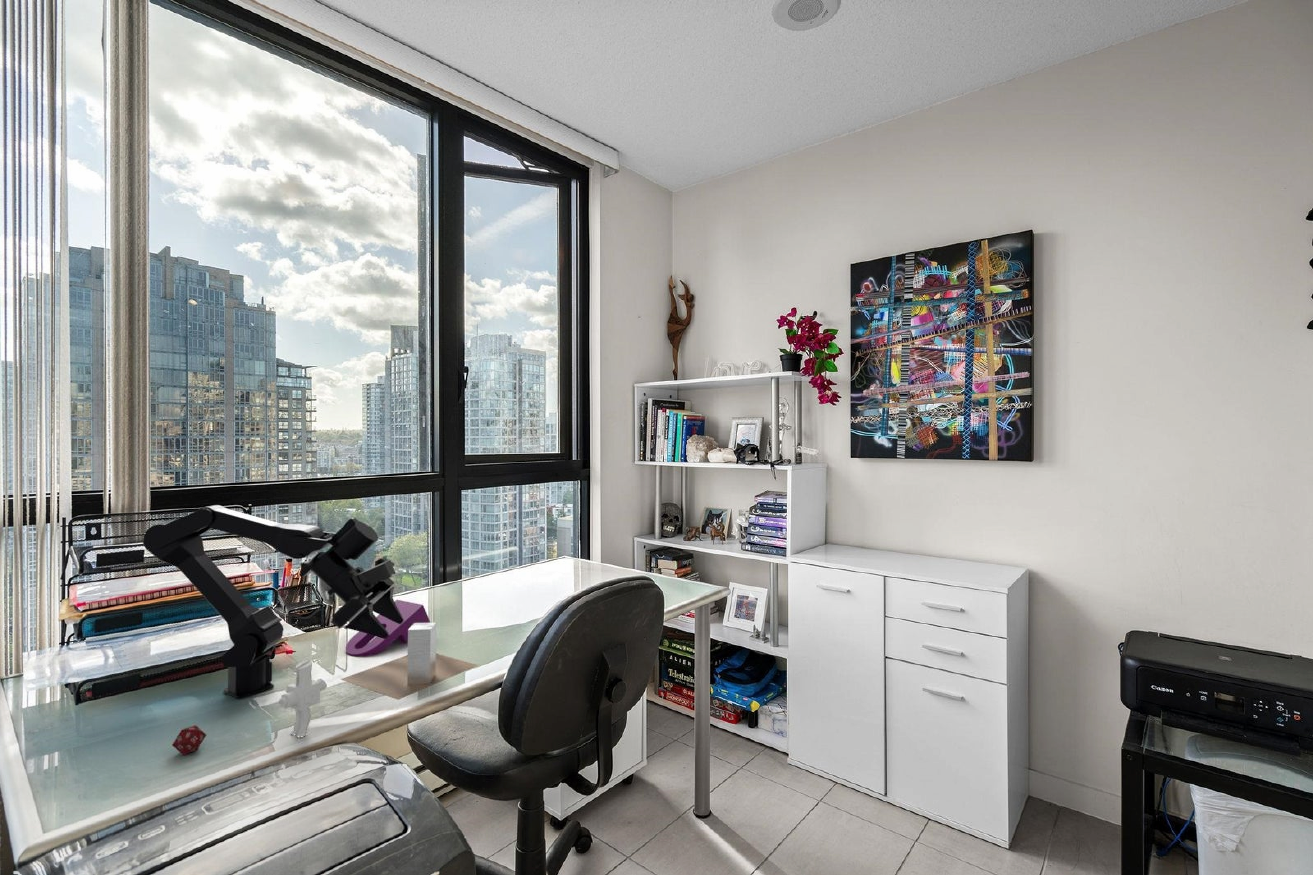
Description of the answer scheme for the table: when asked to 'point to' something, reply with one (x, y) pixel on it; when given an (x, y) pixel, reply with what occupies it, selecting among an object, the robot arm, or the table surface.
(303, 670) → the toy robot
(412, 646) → the block
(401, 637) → the mounting bracket
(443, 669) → the stub board
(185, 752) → the dice
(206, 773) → the table surface
